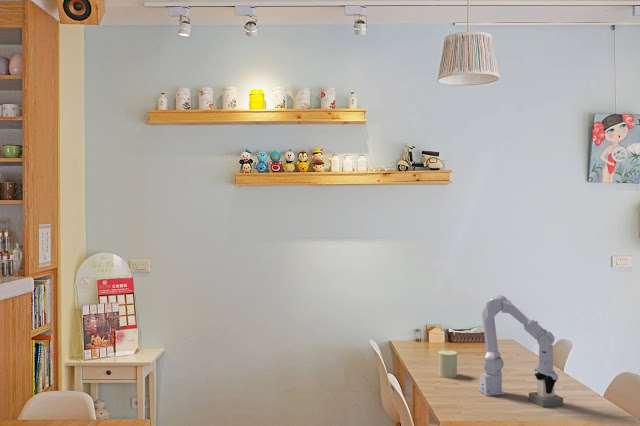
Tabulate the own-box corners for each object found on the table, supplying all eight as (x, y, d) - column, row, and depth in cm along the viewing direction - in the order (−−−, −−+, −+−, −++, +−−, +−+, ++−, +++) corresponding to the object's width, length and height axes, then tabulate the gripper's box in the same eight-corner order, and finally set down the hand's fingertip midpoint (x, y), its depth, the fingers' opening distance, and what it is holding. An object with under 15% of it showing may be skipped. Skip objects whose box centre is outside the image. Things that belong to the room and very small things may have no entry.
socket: (563, 405, 256) (563, 397, 256) (542, 407, 253) (542, 399, 253) (548, 397, 265) (548, 390, 265) (528, 399, 263) (528, 392, 263)
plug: (554, 400, 258) (554, 381, 258) (543, 401, 257) (543, 382, 257) (548, 397, 262) (548, 378, 262) (537, 398, 261) (537, 379, 260)
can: (454, 372, 305) (454, 349, 304) (459, 377, 295) (459, 353, 295) (436, 372, 304) (436, 349, 304) (440, 377, 295) (440, 353, 295)
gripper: (564, 364, 253) (564, 396, 253) (543, 355, 267) (543, 385, 267) (550, 365, 251) (549, 397, 251) (529, 356, 265) (529, 387, 266)
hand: (545, 391), depth 259 cm, fingers closed on plug, 4 cm apart
